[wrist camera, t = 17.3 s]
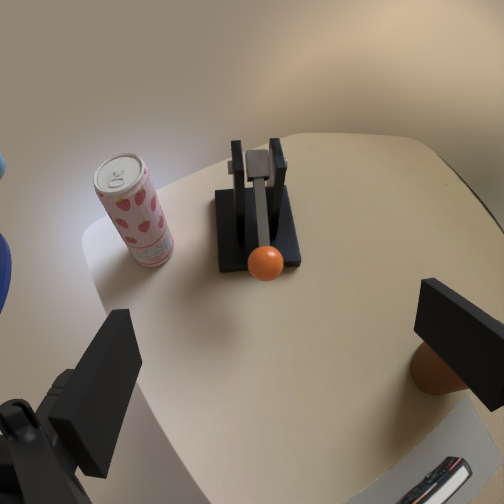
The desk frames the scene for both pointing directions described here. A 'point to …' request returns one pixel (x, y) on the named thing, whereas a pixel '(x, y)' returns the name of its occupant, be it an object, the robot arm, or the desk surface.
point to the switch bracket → (254, 214)
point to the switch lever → (261, 219)
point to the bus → (440, 464)
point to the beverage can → (134, 208)
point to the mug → (434, 373)
